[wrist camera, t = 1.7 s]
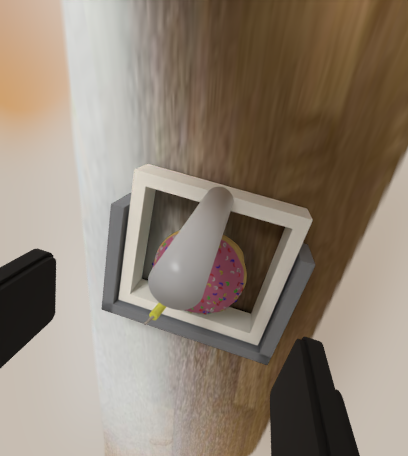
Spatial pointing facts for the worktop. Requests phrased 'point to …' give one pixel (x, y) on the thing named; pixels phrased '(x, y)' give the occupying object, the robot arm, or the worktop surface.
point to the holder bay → (247, 350)
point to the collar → (204, 250)
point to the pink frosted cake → (214, 279)
